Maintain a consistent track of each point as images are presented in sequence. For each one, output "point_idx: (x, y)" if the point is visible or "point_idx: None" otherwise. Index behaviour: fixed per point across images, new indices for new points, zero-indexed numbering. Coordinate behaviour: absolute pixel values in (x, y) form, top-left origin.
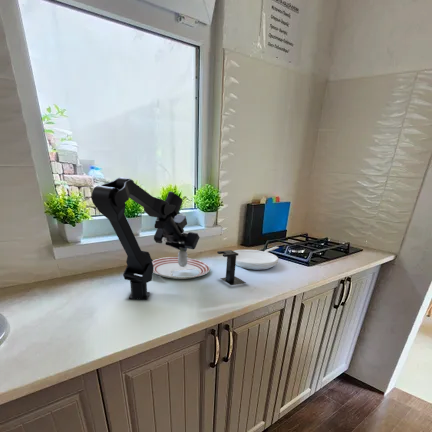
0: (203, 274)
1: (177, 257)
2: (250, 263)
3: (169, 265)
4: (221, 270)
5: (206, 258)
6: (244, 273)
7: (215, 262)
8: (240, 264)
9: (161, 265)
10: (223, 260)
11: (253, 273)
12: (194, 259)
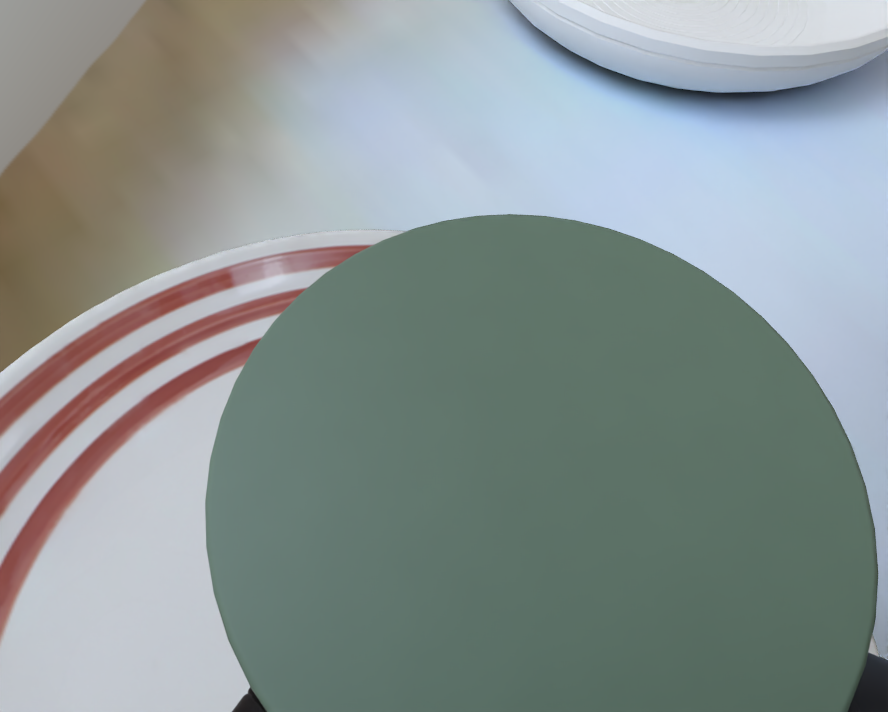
0: (874, 642)
1: (102, 313)
2: (866, 46)
3: (115, 559)
4: (648, 228)
5: (301, 67)
6: (838, 172)
7: (439, 100)
8: (759, 81)
9: (2, 683)
10: (454, 34)
11: (876, 131)
12: (335, 235)
